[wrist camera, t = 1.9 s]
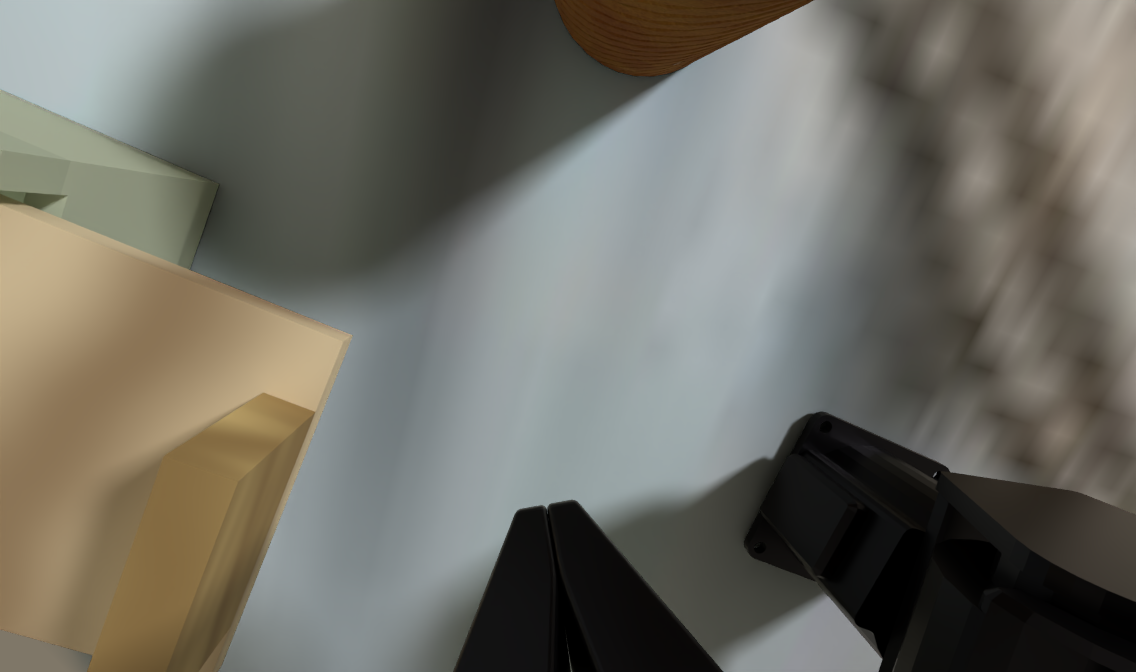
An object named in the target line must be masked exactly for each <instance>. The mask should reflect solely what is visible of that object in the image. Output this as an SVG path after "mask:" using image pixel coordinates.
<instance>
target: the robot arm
mask: <svg viewBox="0 0 1136 672" xmlns="http://www.w3.org/2000/svg"><path fill="white" fill-rule="evenodd" d="M824 421H826V426H825V427H824V428H823V429H821V430H820V425H821V423H822V422H824ZM936 472H937V474H936V475H935V477H933V475H934V474H935V473H936ZM547 512H548V514H547ZM548 519H549V520H548ZM758 542H762V543H761V545H760V546H759V547H757V548H754V546H755V545H756V544H757V543H758ZM744 547H745V548H746V550H747V551H748V553H749V554H750V556H752V557H753V558H755V559H758V560H760V561H763V562H766V563H768V564H771V565H773V566H776V567H779V568H781V569H784V570H787V571H789V572H792V573H794V574H797V575H800V576H802V577H805V578H808V579H810V580H813V581H816V582H817V583H818V585H819V586H820V587H821V588H822V589H823V590H824V592H825V593H826V594H827V595H828V596H829V597H830V599H831V600H832V601H833V602H834V603H835V604H836V606H837V607H838V608H839V609H840V610H841V611H842V613H843V614H844V615H845V616H846V617H847V619H848V620H849V621H850V622H851V623H852V624H853V626H854V627H855V628H856V629H857V630H858V631H859V633H860V634H861V635H862V636H863V637H864V638H865V640H866V641H867V642H868V643H869V644H870V645H871V647H872V648H873V649H874V650H875V651H876V652H877V654H878V655H879V656H880V657H881V658H882V663H881V666H880V669H879V672H1136V515H1135V514H1133V513H1130V512H1128V511H1125V510H1123V509H1120V508H1117V507H1115V506H1112V505H1110V504H1107V503H1105V502H1102V501H1100V500H1097V499H1094V498H1092V497H1089V496H1087V495H1084V494H1081V493H1078V492H1075V491H1069V490H1063V489H1056V488H1050V487H1043V486H1037V485H1030V484H1023V483H1017V482H1010V481H1004V480H997V479H991V478H984V477H978V476H971V475H965V474H958V473H951V472H950V471H949V469H948V468H947V467H946V466H944V465H942V464H940V463H939V462H937V461H934V460H932V459H930V458H928V457H925V456H923V455H921V454H919V453H916V452H914V451H912V450H910V449H907V448H905V447H903V446H901V445H898V444H896V443H894V442H892V441H889V440H887V439H885V438H883V437H880V436H878V435H876V434H874V433H871V432H869V431H867V430H865V429H862V428H860V427H858V426H856V425H853V424H851V423H849V422H847V421H844V420H842V419H840V418H838V417H835V416H833V415H831V414H829V413H826V412H817V413H815V414H814V415H812V417H811V418H810V419H809V421H808V423H807V425H806V427H805V428H804V430H803V432H802V434H801V436H800V438H799V440H798V441H797V443H796V445H795V447H794V449H793V451H792V452H791V454H790V456H788V457H787V459H786V461H785V463H784V465H783V467H782V468H781V470H780V472H779V474H778V476H777V478H776V480H775V481H774V483H773V485H772V487H771V489H770V491H769V492H768V494H767V496H766V498H765V500H764V502H763V504H762V505H761V508H760V512H759V514H758V515H757V517H756V519H755V521H754V523H753V525H752V527H751V528H750V530H749V532H748V534H747V536H746V538H745V541H744ZM566 638H567V640H566ZM567 644H568V647H567ZM568 651H569V654H568ZM569 657H570V662H571V668H572V672H723V671H722V670H721V668H720V667H719V666H718V665H717V664H716V663H715V661H714V660H713V659H712V658H711V657H710V656H709V654H708V653H707V652H706V651H705V650H704V649H703V647H702V646H701V645H700V644H699V643H698V642H697V640H696V639H695V638H694V637H693V636H692V635H691V633H690V632H689V631H688V630H687V629H686V628H685V626H684V625H683V624H682V623H681V622H680V621H679V619H678V618H677V617H676V616H675V615H674V614H673V612H672V611H671V610H670V609H669V608H668V607H667V605H666V604H665V603H664V602H663V601H662V600H661V598H660V597H659V596H658V595H657V594H656V593H655V591H654V590H653V589H652V588H651V587H650V586H649V584H648V583H647V582H646V581H645V580H644V579H643V577H642V576H641V575H640V574H639V573H638V572H637V570H636V569H635V568H634V567H633V566H632V565H631V563H630V562H629V561H628V560H627V559H626V558H625V556H624V555H623V554H622V553H621V552H620V551H619V549H618V548H617V547H616V546H615V545H614V543H613V542H612V541H611V540H610V539H609V538H608V536H607V535H606V534H605V533H604V532H603V531H602V529H601V528H600V527H599V526H598V525H597V524H596V522H595V521H594V520H593V519H592V518H591V517H590V515H589V514H588V513H587V512H586V511H585V510H584V508H583V507H582V506H581V505H580V504H579V503H578V502H577V501H575V500H568V501H562V502H556V503H551V504H550V505H549V506H548V508H547V509H546V507H545V506H543V505H540V506H534V507H528V508H523V509H519V510H518V511H517V512H516V513H515V515H514V518H513V520H512V523H511V525H510V528H509V530H508V533H507V535H506V538H505V541H504V543H503V546H502V548H501V551H500V553H499V556H498V558H497V561H496V564H495V566H494V569H493V571H492V574H491V576H490V579H489V581H488V584H487V586H486V589H485V592H484V594H483V597H482V599H481V602H480V604H479V607H478V609H477V612H476V615H475V617H474V620H473V622H472V625H471V627H470V630H469V632H468V635H467V638H466V640H465V643H464V645H463V648H462V650H461V653H460V655H459V658H458V660H457V663H456V666H455V668H454V671H453V672H571V670H570V662H569Z"/></svg>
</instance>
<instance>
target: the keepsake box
mask: <svg viewBox="0 0 1136 672" xmlns="http://www.w3.org/2000/svg"><path fill="white" fill-rule="evenodd" d="M218 186H219V184H218V183H215V182H213V181H211V180H208V179H206V178H204V177H201V176H199V175H197V174H194V173H192V172H190V171H188V170H185V169H183V168H181V167H178V166H176V165H174V164H171V163H169V162H167V161H164V160H162V159H160V158H157V157H155V156H153V155H150V154H148V153H146V152H143V151H141V150H139V149H137V148H134V147H132V146H130V145H127V144H125V143H123V142H120V141H118V140H116V139H113V138H111V137H109V136H106V135H104V134H102V133H99V132H97V131H95V130H92V129H90V128H88V127H86V126H83V125H81V124H79V123H76V122H74V121H72V120H69V119H67V118H65V117H62V116H60V115H58V114H55V113H53V112H51V111H48V110H46V109H44V108H41V107H39V106H37V105H35V104H32V103H30V102H28V101H25V100H23V99H21V98H18V97H16V96H14V95H11V94H9V93H7V92H4V91H2V90H0V194H2V195H4V196H7V197H9V198H12V199H14V200H17V201H19V202H22V203H24V204H27V205H29V206H32V207H34V208H37V209H39V210H42V211H44V212H47V213H49V214H52V215H54V216H57V217H59V218H62V219H64V220H67V221H69V222H72V223H74V224H76V225H79V226H81V227H84V228H86V229H89V230H91V231H94V232H96V233H99V234H101V235H104V236H106V237H109V238H111V239H114V240H116V241H119V242H121V243H124V244H126V245H129V246H131V247H134V248H136V249H139V250H141V251H144V252H146V253H149V254H151V255H154V256H156V257H159V258H161V259H164V260H166V261H169V262H171V263H173V264H176V265H178V266H181V267H183V268H186V269H188V270H190V268H191V265H192V262H193V259H194V256H195V253H196V250H197V247H198V244H199V241H200V239H201V236H202V233H203V230H204V227H205V224H206V221H207V218H208V215H209V212H210V210H211V207H212V204H213V201H214V198H215V195H216V192H217V189H218Z"/></svg>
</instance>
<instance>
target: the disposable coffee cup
mask: <svg viewBox="0 0 1136 672" xmlns="http://www.w3.org/2000/svg"><path fill="white" fill-rule="evenodd" d="M554 1H555V3H556V6H557V8H558V11H559V13H560V16H561V18H562V20H563V23H564V25H565V26H566V28H567V30H568V31H569V33H570V35H571V36H572V38H573V39H574V40H575V41H576V42H577V43H578V44H579V45H580V46H581V47H582V48H583V50H584V51H585V52H586V53H587V54H588V55H590V56H591V57H592V58H594V59H595V60H597V61H598V62H600V63H601V64H602V65H604V66H606V67H608V68H610V69H612V70H614V71H617V72H620V73H624V74H628V75H632V76H658V75H663V74H668V73H672V72H674V71H677V70H679V69H681V68H684V67H686V66H688V65H689V64H691V63H693V62H694V61H696V60H698V59H700V58H702V57H704V56H706V55H708V54H710V53H712V52H714V51H716V50H718V49H720V48H722V47H724V46H726V45H728V44H730V43H732V42H734V41H736V40H738V39H740V38H742V37H743V36H745V35H747V34H750V33H751V32H753V31H755V30H757V29H759V28H761V27H763V26H764V25H767V24H769V23H771V22H773V21H775V20H777V19H779V18H780V17H782V16H784V15H786V14H788V13H791V12H793V11H794V10H796V9H798V8H800V7H802V6H804V5H806V4H808V3H810V2H811V1H813V0H554Z"/></svg>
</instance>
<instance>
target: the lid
mask: <svg viewBox="0 0 1136 672" xmlns="http://www.w3.org/2000/svg"><path fill="white" fill-rule="evenodd" d="M352 336H353V335H350V334H348V333H345V332H343V331H340V330H338V329H335V328H333V327H330V326H328V325H325V324H323V323H320V322H318V321H315V320H313V319H310V318H308V317H305V316H303V315H300V314H298V313H295V312H293V311H290V310H288V309H285V308H283V307H280V306H278V305H275V304H273V303H270V302H268V301H266V300H263V299H261V298H258V297H256V296H253V295H251V294H248V293H246V292H243V291H241V290H238V289H236V288H233V287H231V286H228V285H226V284H223V283H221V282H218V281H216V280H213V279H211V278H208V277H206V276H203V275H201V274H198V273H196V272H193V271H191V270H188V269H186V268H183V267H181V266H178V265H176V264H173V263H171V262H169V261H166V260H164V259H161V258H159V257H156V256H154V255H151V254H149V253H146V252H144V251H141V250H139V249H136V248H134V247H131V246H129V245H126V244H124V243H121V242H119V241H116V240H114V239H111V238H109V237H106V236H104V235H101V234H99V233H96V232H94V231H91V230H89V229H86V228H84V227H81V226H79V225H76V224H74V223H72V222H69V221H67V220H64V219H62V218H59V217H57V216H54V215H52V214H49V213H47V212H44V211H42V210H39V209H37V208H34V207H32V206H29V205H27V204H24V203H22V202H19V201H17V200H14V199H12V198H9V197H7V196H4V195H2V194H0V630H4V631H7V632H11V633H15V634H18V635H22V636H25V637H29V638H32V639H36V640H40V641H43V642H47V643H50V644H54V645H58V646H61V647H65V648H68V649H72V650H75V651H79V652H83V653H86V654H90V655H93V656H92V659H91V662H90V665H89V668H88V670H87V672H217V671H218V670H219V669H220V667H221V666H222V663H223V661H224V658H225V656H226V653H227V651H228V648H229V646H230V643H231V641H232V638H233V636H234V633H235V631H236V628H237V626H238V623H239V621H240V618H241V616H242V613H243V611H244V608H245V606H246V603H247V601H248V598H249V595H250V593H251V590H252V588H253V585H254V583H255V580H256V578H257V575H258V573H259V570H260V568H261V565H262V563H263V560H264V558H265V555H266V553H267V550H268V548H269V545H270V543H271V540H272V538H273V535H274V533H275V530H276V528H277V525H278V522H279V520H280V517H281V515H282V512H283V510H284V507H285V505H286V502H287V500H288V497H289V495H290V492H291V490H292V487H293V485H294V482H295V480H296V477H297V475H298V472H299V470H300V467H301V465H302V462H303V460H304V457H305V455H306V452H307V449H308V447H309V444H310V442H311V439H312V437H313V434H314V432H315V429H316V427H317V424H318V422H319V419H320V417H321V414H322V412H323V409H324V407H325V404H326V402H327V399H328V397H329V394H330V392H331V389H332V387H333V384H334V382H335V379H336V376H337V374H338V371H339V369H340V366H341V364H342V361H343V359H344V356H345V354H346V351H347V349H348V346H349V344H350V341H351V339H352Z"/></svg>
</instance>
